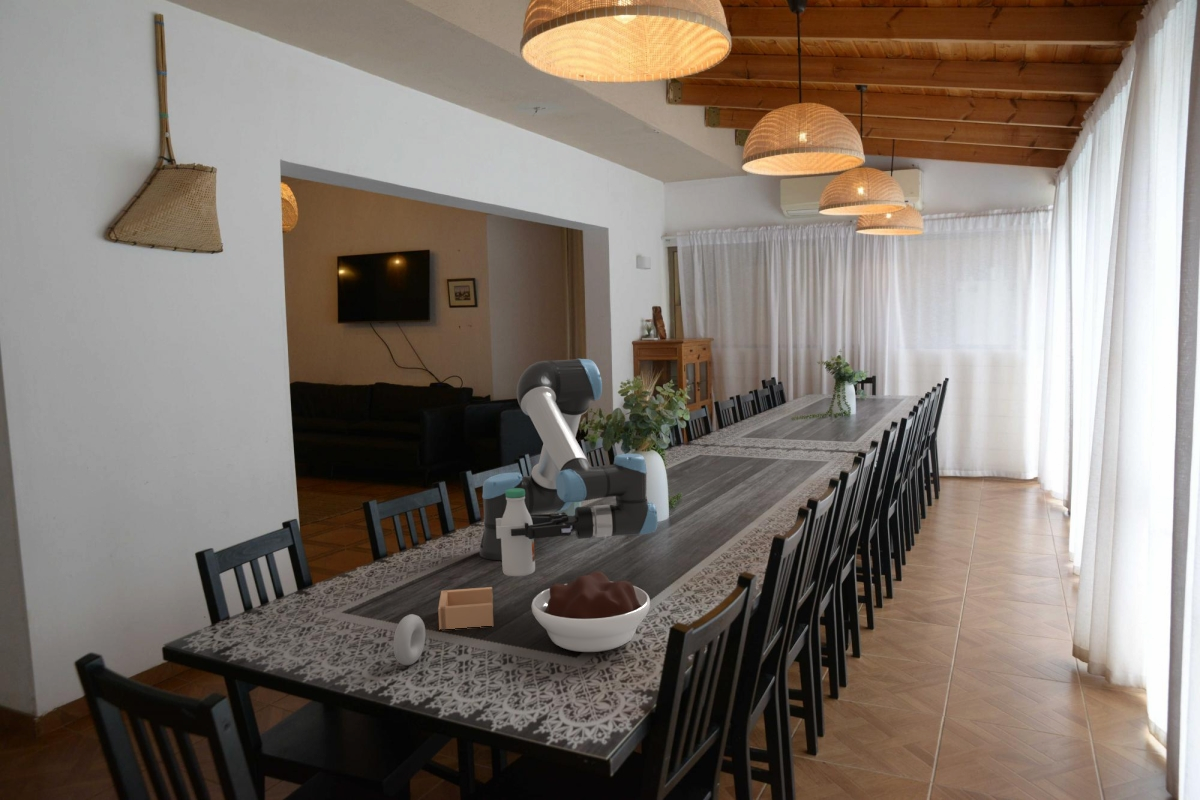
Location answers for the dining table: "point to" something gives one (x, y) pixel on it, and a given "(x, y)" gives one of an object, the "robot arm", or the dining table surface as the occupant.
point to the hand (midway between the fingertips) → (496, 528)
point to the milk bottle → (518, 549)
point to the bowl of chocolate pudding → (591, 612)
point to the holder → (466, 608)
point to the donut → (409, 639)
